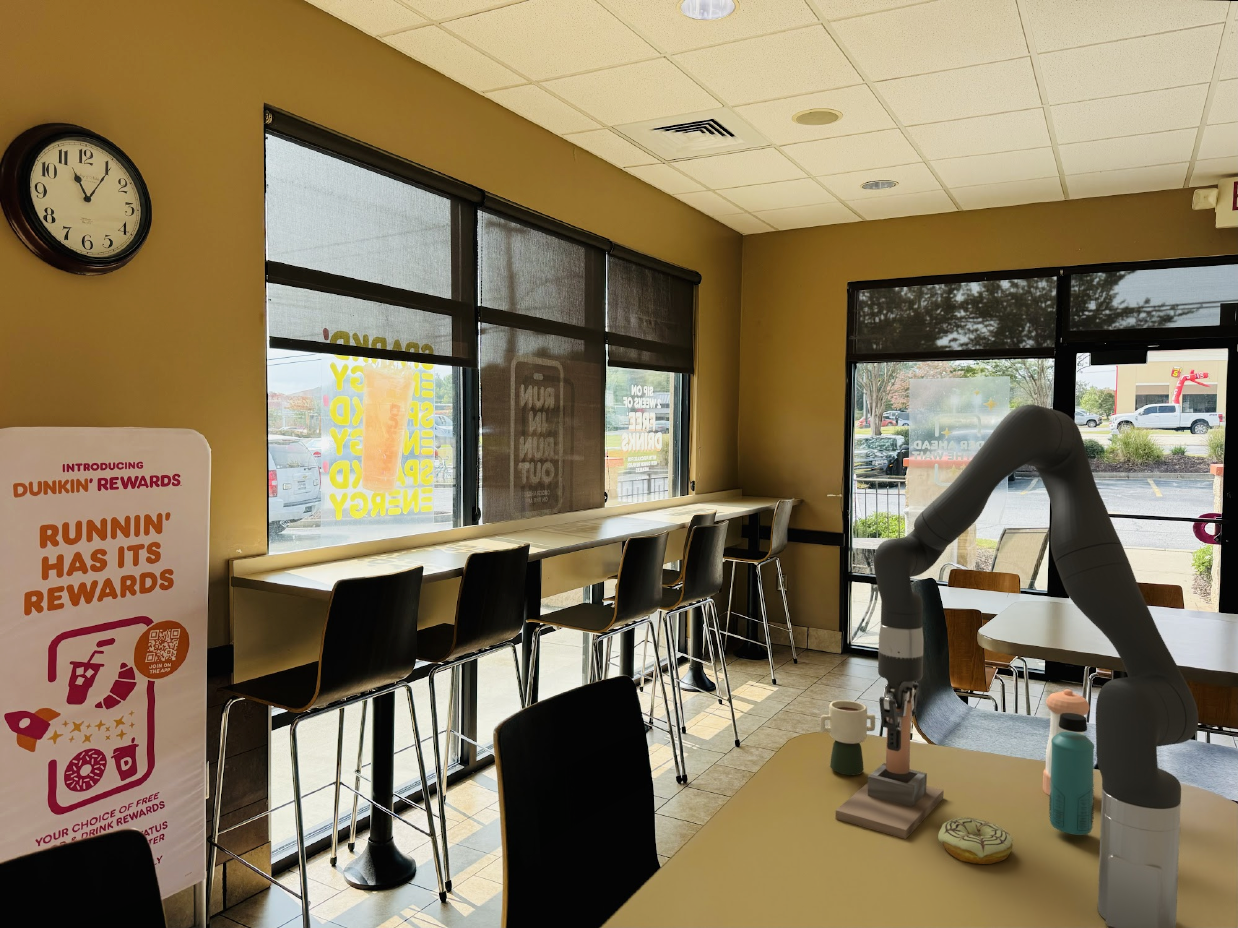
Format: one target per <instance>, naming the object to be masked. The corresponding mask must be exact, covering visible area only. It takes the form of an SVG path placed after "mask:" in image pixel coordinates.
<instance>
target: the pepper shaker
mask: <svg viewBox="0 0 1238 928" xmlns="http://www.w3.org/2000/svg"><path fill="white" fill-rule="evenodd" d="M1045 702H1046V705H1047V708H1048V710H1049V711H1050V718H1049V719H1050V722H1049V724H1050V725H1049V735H1048V741H1047V745H1046V750H1045V768H1044V769H1043V774H1042V776H1043V777H1042V791H1043V792H1044V793H1045V794H1046V795H1048V796H1050V792H1051V786H1050V785H1051V782H1050V781H1051V779H1050V778H1051V759H1052V742H1051V741H1052V738H1053V737H1054V736H1055V735H1057V734H1058V733H1060V732H1073V731H1068V730H1064V729H1062V728H1060V727H1059V720H1060V714H1062V713H1076V714H1080V715H1082V716H1084V717H1085V716H1086V715H1087V714H1088V713H1089V711H1090V704H1089V701H1087V699H1086V698H1085V697H1084V696H1081V695H1080V694H1078V693H1074V692H1073V690H1071V689H1070V688H1069V689H1067V688H1066V689H1064V690H1062V691H1056V692H1053V693H1051V694H1049V695H1048V697H1047V698H1046V701H1045ZM1074 733H1079V734H1082V735H1084V736H1085V734H1084V733H1085V732H1074Z"/></svg>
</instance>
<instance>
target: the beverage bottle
mask: <svg viewBox="0 0 1238 928" xmlns="http://www.w3.org/2000/svg"><path fill="white" fill-rule="evenodd" d="M1087 721H1088V720H1087V716H1085V715H1084V716H1082V715H1080V714H1076V713H1062V714H1060V720H1059V727H1060V728H1062V729H1064V730H1068V731H1073V732H1060V733H1058V734H1057V735H1055V736H1054V737H1053V738H1052V741H1051V742H1052V759H1051V778H1050V779H1051V781H1050V782H1051V785H1050V786H1051V792H1050V796H1049V795H1048V796H1049V798H1048V799H1049V801H1048V803H1049V807H1048V809H1049V810H1048V816H1049V817H1048V819H1049V822H1050V825H1051V826H1052V827H1053V829H1056V830H1058V831H1060V832H1063V833H1065V834H1066V833H1067V834H1070V835H1077V836H1078V835H1079V836H1083V835H1088V834H1091V832H1092V830H1093V827H1094V819H1095V818H1094V813H1095V812H1094V811H1095V810H1094V809H1095V806H1094V800H1095V790H1094V780H1095V778H1094V755H1095V754H1094V751H1095V750H1094V749H1095V744H1094V743H1093V742H1092V741H1091V739H1089V738H1088V737H1087V735H1085V734H1084V735H1082V734H1079V733H1074V732H1084V733H1085V732H1087V731H1088V725H1087Z"/></svg>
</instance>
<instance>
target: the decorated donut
mask: <svg viewBox="0 0 1238 928" xmlns="http://www.w3.org/2000/svg"><path fill="white" fill-rule="evenodd" d="M938 841H939V842H940V843H941V844H942V845H943V847H944V849H945V850H946V851H947V852H948V854H949V855H950V856H952V857H954V858H956V859H957V860H959V861H961V862H964V863H970V864H978V865H985V864H986V865H992V864H995V863H999V862H1002V861H1004V860H1006V859H1007V858H1008V857H1009V856H1010V854H1011V851H1012V850H1013V846H1014V845H1013V841H1014V840H1013V838H1012V836H1011V834H1010V833H1009V832H1008V831H1007V830H1006V829H1004V828H1002V827H1001V826H999V825H997V824H996V823H993V822H992V823H991V822H989V821H987V820H984V819H979V818H975V817H969V816H965V817H955V818H951V819H949V820H948V821H945V822H944V823H942V825H941V828H940V830H939V832H938Z"/></svg>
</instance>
